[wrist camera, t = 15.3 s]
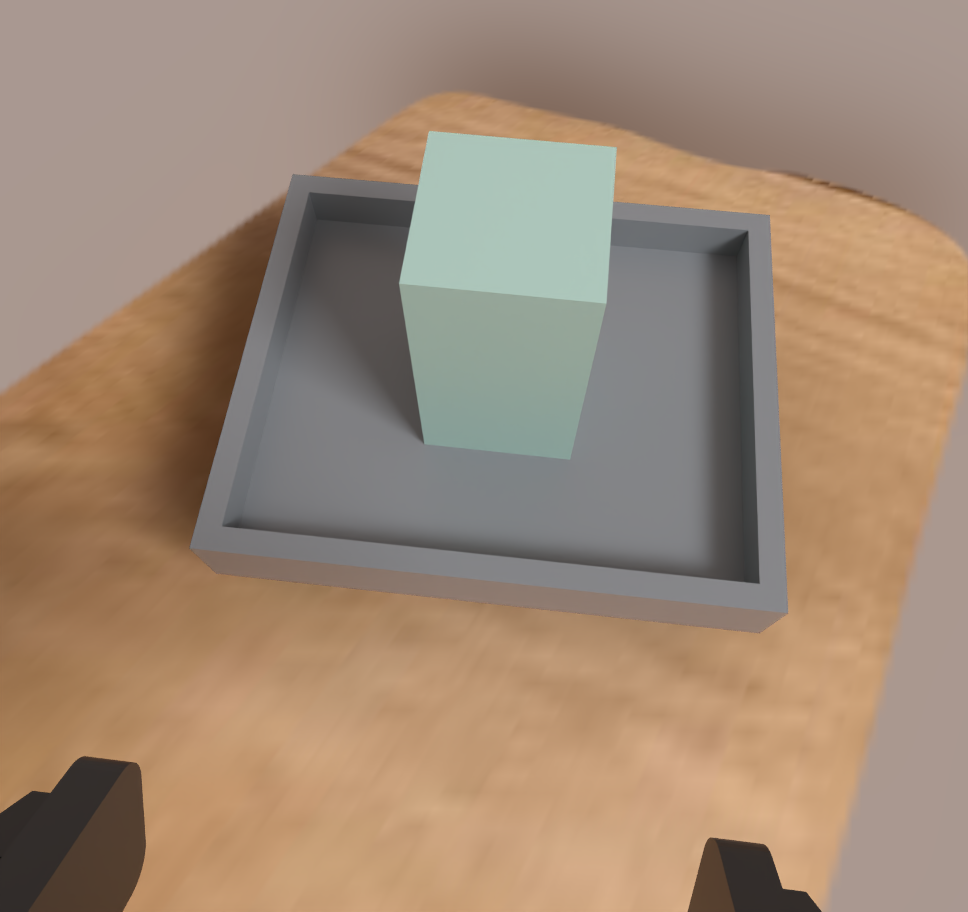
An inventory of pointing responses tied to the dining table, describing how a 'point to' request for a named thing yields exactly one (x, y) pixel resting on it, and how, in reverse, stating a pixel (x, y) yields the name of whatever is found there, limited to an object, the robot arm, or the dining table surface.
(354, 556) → the grey shallow tray
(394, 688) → the dining table surface
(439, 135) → the sage part block
